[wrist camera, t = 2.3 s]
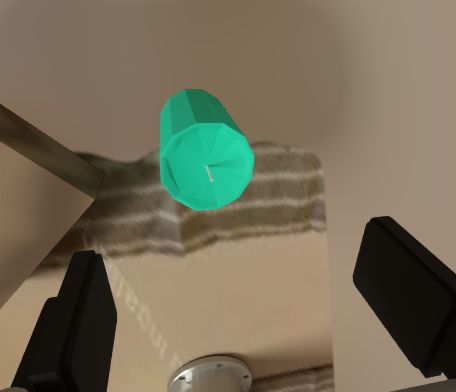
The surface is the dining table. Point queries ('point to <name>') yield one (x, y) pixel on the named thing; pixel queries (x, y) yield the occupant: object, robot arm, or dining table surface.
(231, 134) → the candle
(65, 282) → the robot arm
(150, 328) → the dining table surface
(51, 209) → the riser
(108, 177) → the dining table surface
